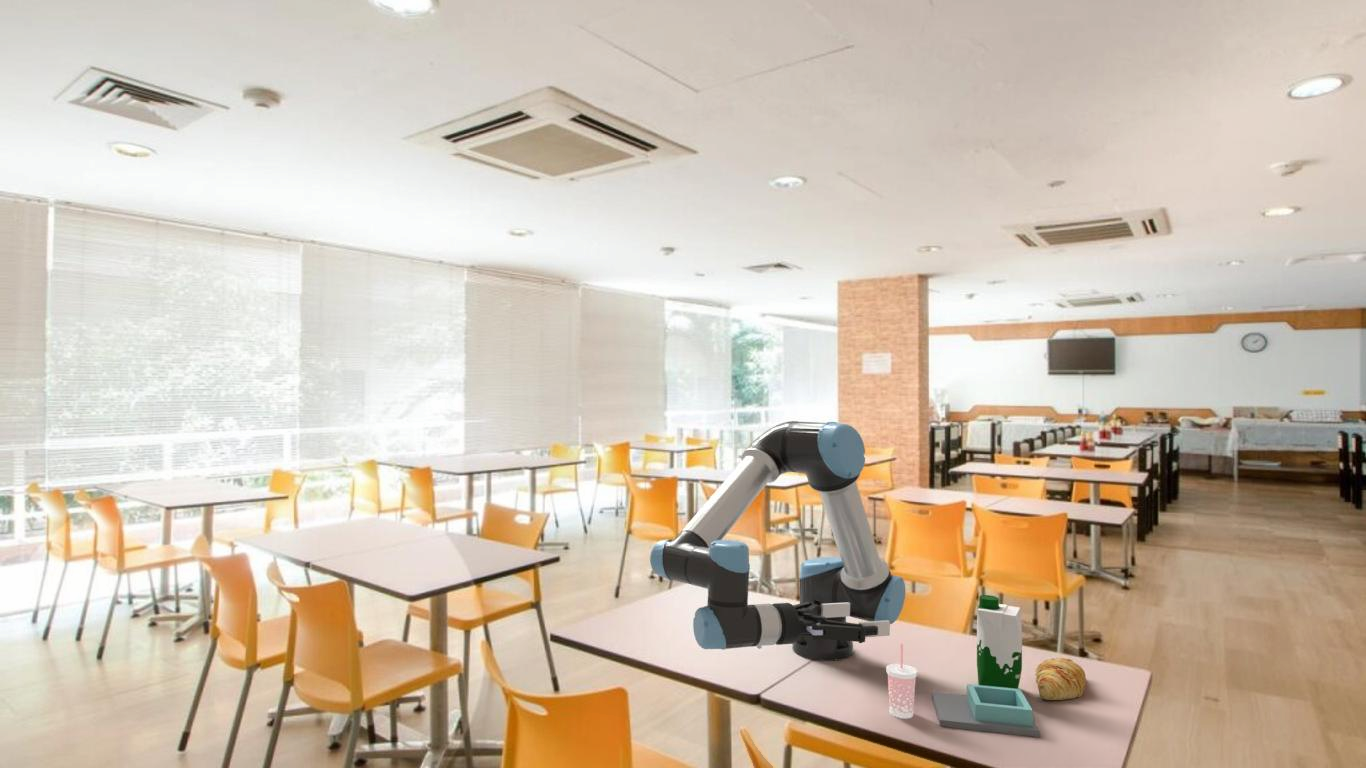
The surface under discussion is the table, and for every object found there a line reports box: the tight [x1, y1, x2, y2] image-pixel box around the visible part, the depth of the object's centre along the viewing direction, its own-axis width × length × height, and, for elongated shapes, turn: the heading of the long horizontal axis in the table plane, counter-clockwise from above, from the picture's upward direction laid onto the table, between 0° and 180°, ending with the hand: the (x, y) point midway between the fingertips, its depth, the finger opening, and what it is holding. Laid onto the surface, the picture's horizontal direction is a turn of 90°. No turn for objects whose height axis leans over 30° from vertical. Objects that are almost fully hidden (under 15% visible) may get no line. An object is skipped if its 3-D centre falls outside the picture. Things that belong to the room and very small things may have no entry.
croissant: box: [1034, 657, 1087, 701], centre depth 159 cm, size 21×10×8 cm, turn 135°
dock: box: [931, 683, 1041, 738], centre depth 145 cm, size 18×14×4 cm
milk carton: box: [976, 594, 1023, 689], centre depth 158 cm, size 9×9×20 cm
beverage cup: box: [885, 643, 918, 719], centre depth 146 cm, size 6×6×14 cm
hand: (868, 618), depth 143 cm, fingers open, 13 cm apart
